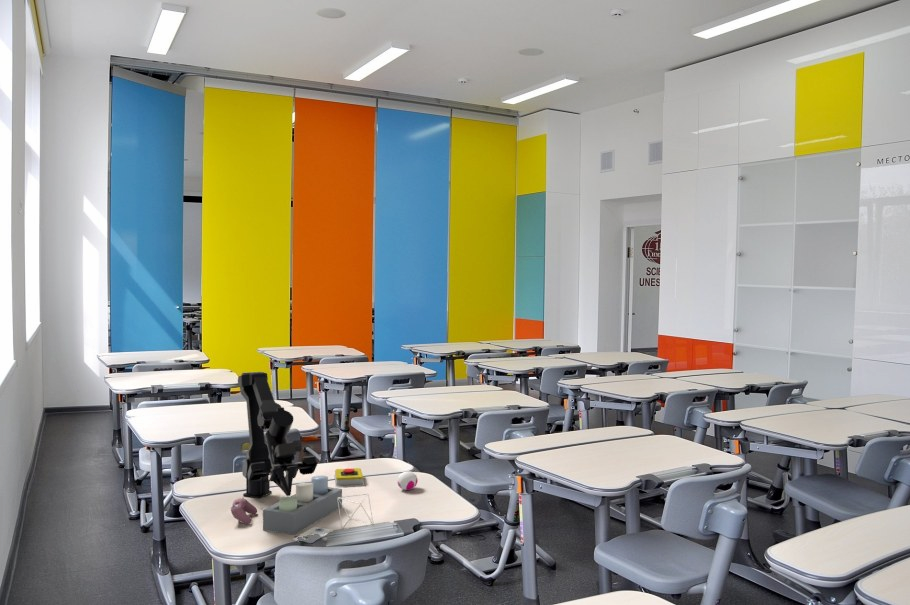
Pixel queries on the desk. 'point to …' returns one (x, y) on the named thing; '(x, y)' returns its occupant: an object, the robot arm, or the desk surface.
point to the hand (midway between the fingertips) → (289, 495)
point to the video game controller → (242, 510)
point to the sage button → (288, 503)
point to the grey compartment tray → (301, 513)
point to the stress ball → (407, 480)
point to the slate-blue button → (320, 485)
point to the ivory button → (304, 492)
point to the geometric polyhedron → (356, 509)
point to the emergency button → (348, 477)
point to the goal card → (313, 532)
